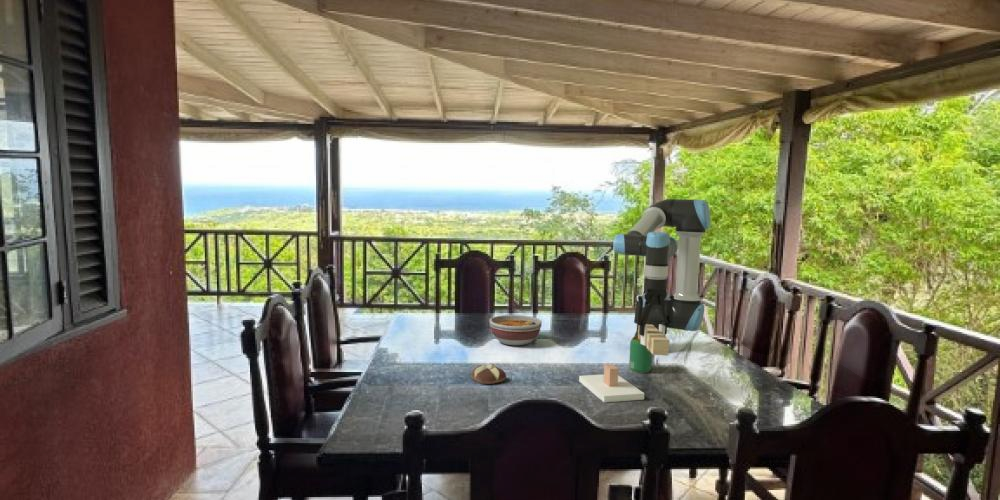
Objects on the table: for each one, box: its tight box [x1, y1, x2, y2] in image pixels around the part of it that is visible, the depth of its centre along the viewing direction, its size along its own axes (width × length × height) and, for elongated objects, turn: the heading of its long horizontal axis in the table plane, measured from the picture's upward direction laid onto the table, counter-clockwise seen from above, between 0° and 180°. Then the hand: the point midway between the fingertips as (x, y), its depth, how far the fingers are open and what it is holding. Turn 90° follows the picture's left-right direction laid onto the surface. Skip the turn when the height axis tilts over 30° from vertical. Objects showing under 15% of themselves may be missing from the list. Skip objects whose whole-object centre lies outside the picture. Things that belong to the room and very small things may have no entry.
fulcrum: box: [578, 364, 645, 403], centre depth 183 cm, size 14×20×8 cm
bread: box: [471, 363, 507, 385], centre depth 190 cm, size 11×11×5 cm
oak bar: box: [638, 324, 670, 356], centre depth 188 cm, size 22×5×5 cm, turn 178°
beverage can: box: [628, 336, 653, 374], centre depth 206 cm, size 8×8×12 cm
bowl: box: [489, 314, 543, 346], centre depth 240 cm, size 23×23×10 cm
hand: (652, 343), depth 188 cm, fingers closed on oak bar, 6 cm apart
